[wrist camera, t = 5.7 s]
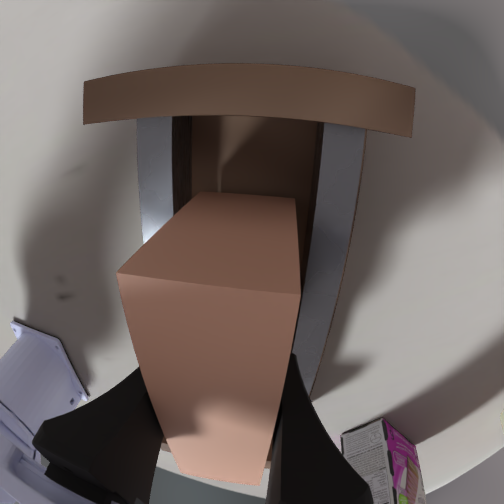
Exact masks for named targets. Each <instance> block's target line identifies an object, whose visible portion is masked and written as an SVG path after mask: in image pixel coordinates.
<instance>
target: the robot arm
mask: <svg viewBox="0 0 504 504" xmlns="http://www.w3.org/2000/svg"><path fill="white" fill-rule="evenodd" d="M10 325H11V327H12V329H13V331H14V333H15V335H16V337H17V341H16V342H15V343H14V344H13V345H12V346H11V347H10V349H9V350H8V351H7V352H6V353H5V354H4V355H3V357H2V358H1V359H0V503H2V504H14V503H15V502H16V501H17V502H19V503H20V504H149V499H150V492H151V487H152V482H153V477H154V471H155V468H156V463H157V459H158V455H159V451H160V448H161V444H162V440H163V437H164V433H163V431H162V428H161V426H160V423H159V421H158V418H157V416H156V413H155V410H154V408H153V405H152V402H151V400H150V397H149V394H148V391H147V388H146V385H145V382H144V379H143V376H142V373H141V370H140V367H138V368H137V369H136V370H135V371H134V372H132V373H131V374H130V375H129V376H128V377H126V378H125V379H124V380H123V381H121V382H120V383H119V384H117V385H116V386H115V387H113V388H112V389H110V390H109V391H107V392H106V393H104V394H103V395H101V396H100V397H98V398H96V399H95V400H93V401H91V402H89V403H87V404H85V405H83V406H81V407H79V408H77V409H75V408H76V407H77V405H78V403H79V401H80V400H81V399H82V400H85V401H87V400H88V399H89V398H88V396H87V394H86V392H85V390H84V389H83V387H82V385H81V383H80V381H79V379H78V377H77V375H76V373H75V372H74V370H73V368H72V366H71V363H70V361H69V359H68V357H67V355H66V353H65V351H64V349H63V346H62V344H61V342H60V341H59V340H58V339H57V338H55V337H52V336H50V335H47V334H44V333H42V332H39V331H36V330H34V329H31V328H29V327H26V326H24V325H22V324H19V323H17V322H15V321H12V322H11V323H10ZM40 453H41V454H42V455H43V456H44V457H45V458H46V459H47V460H49V462H50V464H49V466H48V467H47V468H46V467H44V466H43V465H41V458H40ZM265 504H374V501H373V496H372V492H371V489H370V486H369V484H368V483H367V482H366V481H365V480H364V479H363V478H362V477H361V476H360V475H359V474H358V473H357V472H356V471H355V470H354V468H353V467H352V466H351V465H350V464H349V463H348V461H347V460H346V459H345V458H344V456H343V455H342V454H341V452H340V451H339V449H338V448H337V447H336V445H335V444H334V443H333V441H332V440H331V438H330V436H329V435H328V433H327V432H326V430H325V428H324V426H323V425H322V423H321V421H320V419H319V417H318V415H317V413H316V411H315V409H314V407H313V405H312V403H311V400H310V398H309V395H308V393H307V390H306V388H305V385H304V382H303V379H302V376H301V373H300V370H299V366H298V361H297V356H296V355H295V354H294V353H290V358H289V363H288V368H287V373H286V377H285V382H284V387H283V392H282V396H281V401H280V405H279V410H278V414H277V418H276V423H275V427H274V431H273V435H272V458H271V466H270V474H269V482H268V490H267V497H266V503H265Z"/></svg>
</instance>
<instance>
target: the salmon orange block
mask: <svg viewBox="0 0 504 504" xmlns="http://www.w3.org/2000/svg"><path fill="white" fill-rule="evenodd" d="M116 276H117V281H118V285H119V290H120V295H121V299H122V304H123V308H124V312H125V316H126V320H127V324H128V328H129V332H130V336H131V339H132V343H133V346H134V350H135V353H136V357H137V360H138V363H139V367H140V370H141V373H142V376H143V379H144V382H145V385H146V388H147V391H148V394H149V397H150V400H151V402H152V405H153V408H154V410H155V413H156V416H157V418H158V421H159V423H160V426H161V428H162V431H163V433H164V436H165V438H166V441H167V443H168V445H169V448H170V450H171V452H172V454H173V457H174V459H175V461H176V463H177V465H178V467H179V470H180V472H181V473H184V474H188V475H193V476H197V477H202V478H208V479H213V480H219V481H225V482H232V483H239V484H247V485H256V486H260V482H261V478H262V475H263V471H264V467H265V463H266V459H267V455H268V452H269V448H270V444H271V439H272V435H273V431H274V427H275V423H276V418H277V414H278V410H279V405H280V401H281V396H282V392H283V387H284V382H285V377H286V373H287V368H288V363H289V358H290V352H291V347H292V342H293V337H294V331H295V326H296V320H297V315H298V309H299V303H300V297H301V287H300V267H299V249H298V233H297V219H296V206H295V198H285V197H274V196H262V195H249V194H235V193H220V192H202V191H200V192H199V193H198V194H197V195H196V196H195V197H193V198H192V199H191V200H190V201H189V202H188V203H187V204H186V205H185V206H184V207H182V208H181V209H180V210H179V211H178V212H177V213H176V214H175V215H174V216H173V217H172V218H171V219H170V220H169V221H167V222H166V223H165V224H164V225H163V226H162V227H161V228H160V229H159V230H158V231H157V232H156V233H155V234H154V235H153V236H152V237H151V238H150V239H149V240H148V241H147V242H146V243H145V244H144V245H143V246H142V247H141V248H140V249H139V250H138V251H137V252H136V253H135V254H134V255H133V256H132V257H131V258H130V259H129V260H128V261H127V262H126V263H125V264H124V265H123V266H122V267H121V268H120V269H119V270H118V271H117V272H116Z"/></svg>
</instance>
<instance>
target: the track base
mask: <svg viewBox="0 0 504 504" xmlns="http://www.w3.org/2000/svg"><path fill="white" fill-rule="evenodd" d="M414 105H415V88H413V87H409V86H406V85H402V84H398V83H394V82H390V81H386V80H382V79H377V78H373V77H368V76H363V75H358V74H352V73H346V72H340V71H334V70H327V69H319V68H311V67H301V66H290V65H276V64H251V63H222V64H197V65H183V66H172V67H163V68H154V69H147V70H140V71H133V72H127V73H122V74H116V75H111V76H106V77H102V78H97V79H93V80H88V81H84V94H83V125H85V124H92V123H100V122H108V121H117V120H128V119H137V161H138V183H139V198H140V211H141V222H142V233H143V242H144V244H145V243H146V242H147V241H148V240H149V239H150V238H151V237H152V236H153V235H154V234H155V233H156V232H157V231H158V230H159V229H160V228H161V227H162V226H163V225H164V224H165V223H166V222H167V221H169V220H170V219H171V218H172V217H173V216H174V215H175V214H176V213H177V212H178V211H179V210H180V209H181V208H182V207H184V206H185V205H186V204H187V203H188V202H189V201H190V200H191V199H192V198H193V197H195V196H196V195H197V194H198V193H199V192H200V191H202V192H220V193H235V194H249V195H262V196H274V197H285V198H295V206H296V219H297V233H298V249H299V267H300V287H301V297H300V303H299V309H298V315H297V320H296V326H295V331H294V337H293V342H292V347H291V352H290V353H294V354H295V355H296V356H297V361H298V366H299V370H300V373H301V376H302V379H303V382H304V385H305V388H306V390H307V393H308V395H309V397H310V394H311V391H312V388H313V385H314V382H315V379H316V376H317V373H318V369H319V366H320V363H321V360H322V356H323V353H324V349H325V346H326V342H327V339H328V335H329V332H330V328H331V324H332V320H333V317H334V313H335V309H336V305H337V301H338V297H339V292H340V288H341V284H342V280H343V275H344V271H345V266H346V261H347V257H348V252H349V247H350V242H351V237H352V231H353V226H354V220H355V215H356V209H357V203H358V196H359V190H360V183H361V176H362V169H363V161H364V153H365V144H366V135H367V129H368V130H374V131H379V132H385V133H390V134H395V135H400V136H405V137H410V138H411V137H412V127H413V117H414ZM161 449H162V450H163V451H167V452H171V450H170V448H169V445H168V443H167V441H166V438H165V436H164V437H163V440H162V444H161ZM171 453H172V452H171ZM271 458H272V439H271V444H270V448H269V452H268V455H267V459H266V463H265V467H264V468H268V469H270V466H271Z"/></svg>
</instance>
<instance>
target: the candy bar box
mask: <svg viewBox="0 0 504 504" xmlns="http://www.w3.org/2000/svg"><path fill="white" fill-rule="evenodd" d="M340 437H341V450H342V455H343V456H344V458H345V459H346V460H347V461H348V463H349V464H350V465H351V466H352V467H353V468H354V470H355V471H356V472H357V473H358V474H359V475H360V476H361V477H362V478H363V479H364V480H365V481H366V482H367V483H368V484H369V486H370V489H371V492H372V496H373V501H374V504H426V498H425V491H424V486H423V480H422V475H421V470H420V465H419V460H418V455H417V451H416V446H415V445H413V444H412V443H411V442H410V441H408V440H407V439H406V438H405V437H404V436H403V435H401V434H400V433H399V432H398V431H397V430H396V429H395V428H393V427H392V426H391V425H390V424H389V423H388V422H387V421H386V420H384V419H383V418H380V419H377V420H375V421H372V422H370V423H368V424H366V425H364V426H361V427H359V428H357V429H355V430H352V431H349V432H347V433H344V434H342V435H341V436H340Z"/></svg>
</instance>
